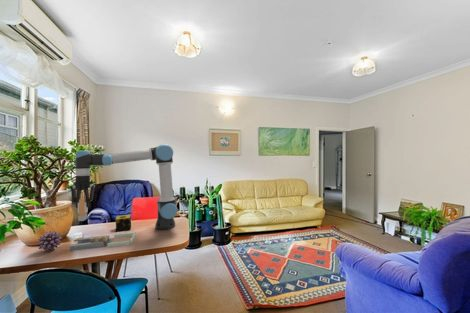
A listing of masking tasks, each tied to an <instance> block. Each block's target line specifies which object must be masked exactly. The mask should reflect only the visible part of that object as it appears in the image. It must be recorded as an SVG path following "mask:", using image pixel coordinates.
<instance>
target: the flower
mask: <svg viewBox="0 0 470 313" xmlns="http://www.w3.org/2000/svg"><path fill="white" fill-rule="evenodd" d="M61 234H62V233H61V232H57V231H56V230H53V231H52V230H50V231H45V233H42V236H41V235H39V237H38V239H37V241H38V242H36V245H39V247H38V250H43V251H44V252H46V253H47V251H49V250H50V251H51V250H52V251H54V250H55V248H58V246H60V245H61V243H62V240H63V239H64V238H63V237H62V235H61Z"/></svg>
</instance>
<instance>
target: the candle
mask: <svg viewBox="0 0 470 313" xmlns="http://www.w3.org/2000/svg"><path fill="white" fill-rule="evenodd" d="M131 216H132V214H123V215H116V217H115V233H121V232H128V231H131V230H132V221H131V220H132V218H131Z"/></svg>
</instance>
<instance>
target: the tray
mask: <svg viewBox="0 0 470 313" xmlns="http://www.w3.org/2000/svg"><path fill="white" fill-rule="evenodd" d="M136 234H137V233H136V232H125V233H118V234H117V233H116V234H115V233H114V239H118V238H119V239H120V238H129V237H131V238H130V239H129V240H124V241H115V242H114V241H112V242H111V243H108V244H107V248H112V247H113V248H114V247H119V246H120V247H121V246H122V247H123V246H128V245H132V244H133V241H134V240H135V239H136V238H135V237H136V236H137V235H136Z"/></svg>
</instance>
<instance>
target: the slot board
mask: <svg viewBox="0 0 470 313" xmlns="http://www.w3.org/2000/svg"><path fill="white" fill-rule="evenodd" d="M107 235H108V234H107ZM92 237H93V236H91V237H90V236H89V237H80V238H78V239H77V243H73V244H71V245H70V246H69V251H70V252H73V251H81V250H87V249H88V250H90V249H98V248H106V247H107V244H108V243H113V242H114V239H115V237H114V238H110V235H108V242H107V243H106V244H104V241H98V242H91V238H92ZM107 248H108V247H107Z"/></svg>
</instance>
